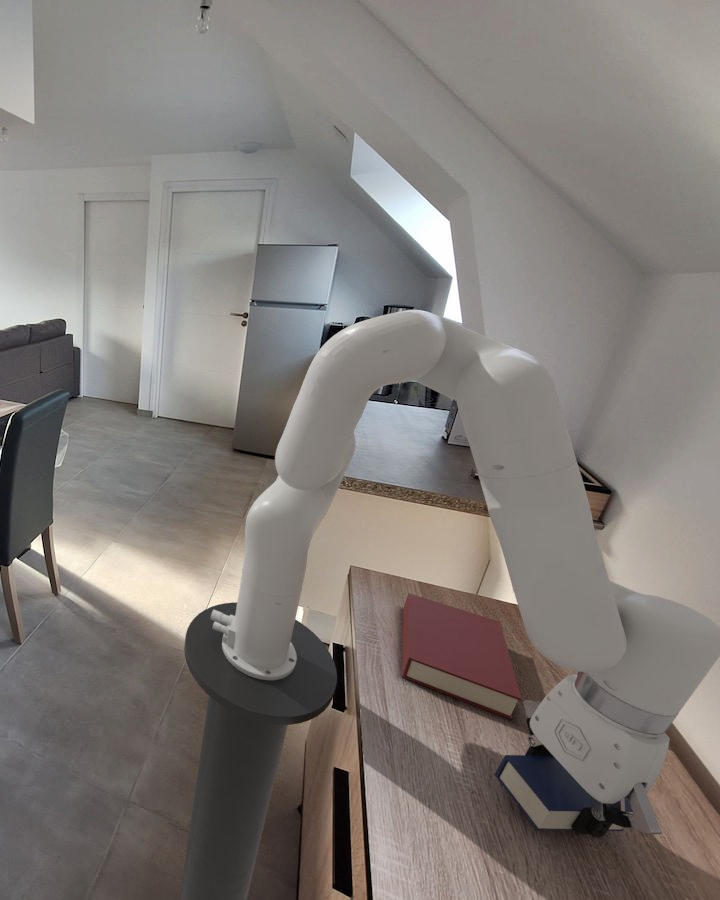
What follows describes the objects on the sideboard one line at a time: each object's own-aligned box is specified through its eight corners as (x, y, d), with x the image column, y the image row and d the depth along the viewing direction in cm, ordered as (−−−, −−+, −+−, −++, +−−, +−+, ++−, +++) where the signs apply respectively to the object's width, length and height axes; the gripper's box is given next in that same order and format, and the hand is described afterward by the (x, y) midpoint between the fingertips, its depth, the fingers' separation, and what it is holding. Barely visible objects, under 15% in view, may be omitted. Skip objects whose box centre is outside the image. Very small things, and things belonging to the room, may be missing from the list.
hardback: (512, 720, 71) (522, 699, 69) (402, 677, 78) (409, 657, 76) (492, 640, 87) (499, 621, 85) (402, 610, 94) (408, 592, 92)
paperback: (536, 830, 55) (549, 809, 53) (494, 774, 61) (505, 754, 59) (622, 831, 55) (638, 810, 54) (572, 776, 61) (585, 756, 60)
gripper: (525, 639, 59) (477, 733, 66) (680, 776, 43) (596, 884, 50) (579, 640, 59) (527, 734, 66) (754, 778, 43) (661, 884, 50)
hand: (557, 798), depth 58 cm, fingers closed on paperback, 6 cm apart
